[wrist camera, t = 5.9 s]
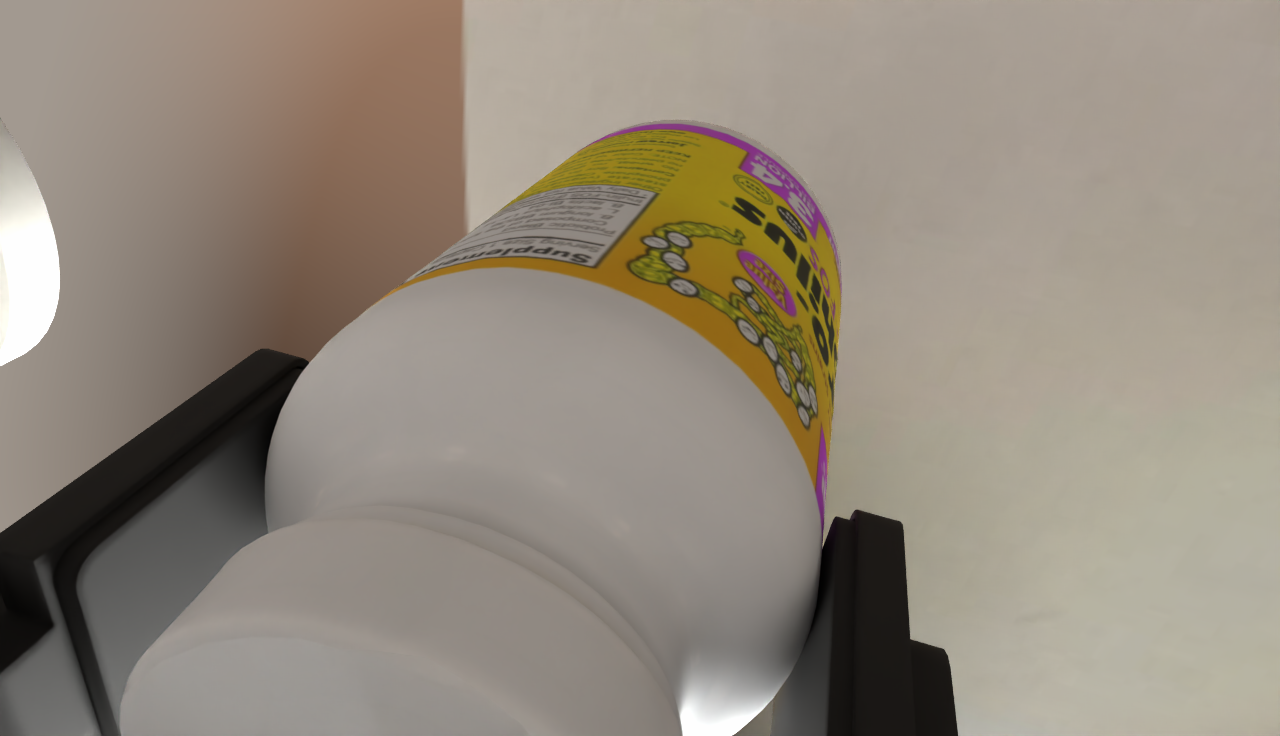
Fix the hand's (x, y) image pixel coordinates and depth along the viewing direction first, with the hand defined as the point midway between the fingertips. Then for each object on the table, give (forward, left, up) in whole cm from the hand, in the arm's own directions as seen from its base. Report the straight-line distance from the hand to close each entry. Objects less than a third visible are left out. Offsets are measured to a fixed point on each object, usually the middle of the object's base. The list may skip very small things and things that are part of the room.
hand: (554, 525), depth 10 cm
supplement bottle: (0, 0, -9) cm, 9 cm away
